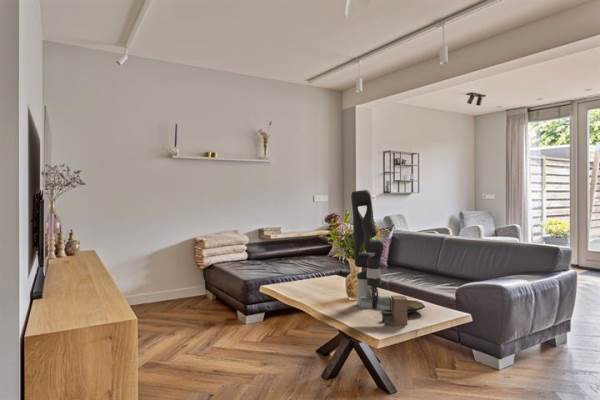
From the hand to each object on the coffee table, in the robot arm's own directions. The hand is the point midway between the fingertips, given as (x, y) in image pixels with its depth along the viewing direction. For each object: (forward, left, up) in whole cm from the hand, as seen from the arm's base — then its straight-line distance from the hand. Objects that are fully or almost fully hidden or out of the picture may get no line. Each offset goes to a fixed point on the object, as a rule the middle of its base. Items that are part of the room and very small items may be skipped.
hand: (373, 307), depth 215 cm
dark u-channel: (0, +11, -8) cm, 14 cm away
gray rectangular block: (0, +1, 0) cm, 1 cm away
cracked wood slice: (-22, +20, -9) cm, 31 cm away
